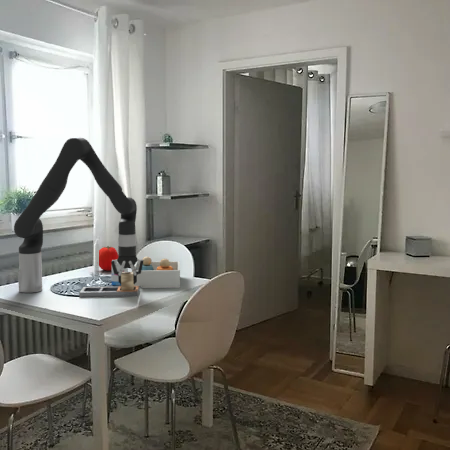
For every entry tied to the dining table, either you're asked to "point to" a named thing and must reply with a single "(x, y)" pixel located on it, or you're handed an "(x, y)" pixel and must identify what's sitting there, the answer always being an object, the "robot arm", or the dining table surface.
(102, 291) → the gray sorting tray
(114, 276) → the ink box
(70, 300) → the dining table surface
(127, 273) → the beige upright block
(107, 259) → the tomato
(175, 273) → the box
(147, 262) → the wooden peg dolls
